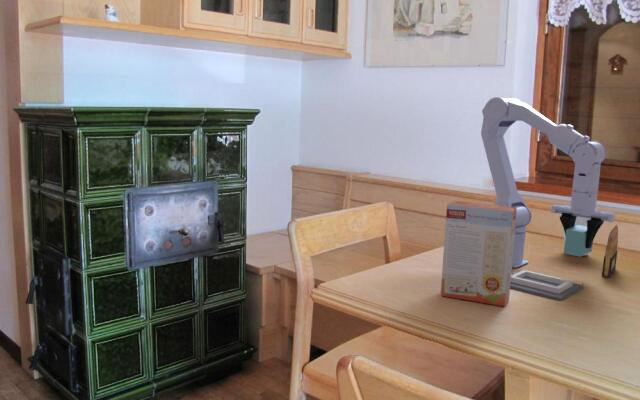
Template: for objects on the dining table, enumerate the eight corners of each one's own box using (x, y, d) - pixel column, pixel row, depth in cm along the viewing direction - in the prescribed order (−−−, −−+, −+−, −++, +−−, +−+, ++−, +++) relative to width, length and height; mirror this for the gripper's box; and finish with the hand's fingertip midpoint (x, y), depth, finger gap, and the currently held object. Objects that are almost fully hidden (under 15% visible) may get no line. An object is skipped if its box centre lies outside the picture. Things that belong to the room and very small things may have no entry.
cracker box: (509, 300, 136) (518, 206, 132) (504, 308, 130) (513, 210, 127) (446, 289, 142) (453, 199, 138) (439, 296, 136) (446, 203, 133)
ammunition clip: (609, 277, 156) (615, 231, 154) (601, 276, 157) (607, 230, 155) (615, 268, 165) (620, 224, 163) (607, 267, 166) (613, 223, 164)
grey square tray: (497, 284, 146) (497, 277, 146) (522, 273, 157) (523, 266, 156) (560, 300, 137) (561, 292, 136) (582, 287, 147) (583, 280, 147)
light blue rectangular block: (563, 253, 151) (566, 229, 150) (575, 248, 157) (578, 225, 156) (580, 256, 149) (583, 232, 148) (591, 251, 154) (594, 227, 153)
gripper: (548, 188, 152) (543, 242, 154) (611, 197, 142) (604, 254, 145) (559, 186, 157) (554, 238, 159) (620, 194, 148) (613, 249, 150)
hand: (578, 245), depth 153 cm, fingers closed on light blue rectangular block, 4 cm apart
